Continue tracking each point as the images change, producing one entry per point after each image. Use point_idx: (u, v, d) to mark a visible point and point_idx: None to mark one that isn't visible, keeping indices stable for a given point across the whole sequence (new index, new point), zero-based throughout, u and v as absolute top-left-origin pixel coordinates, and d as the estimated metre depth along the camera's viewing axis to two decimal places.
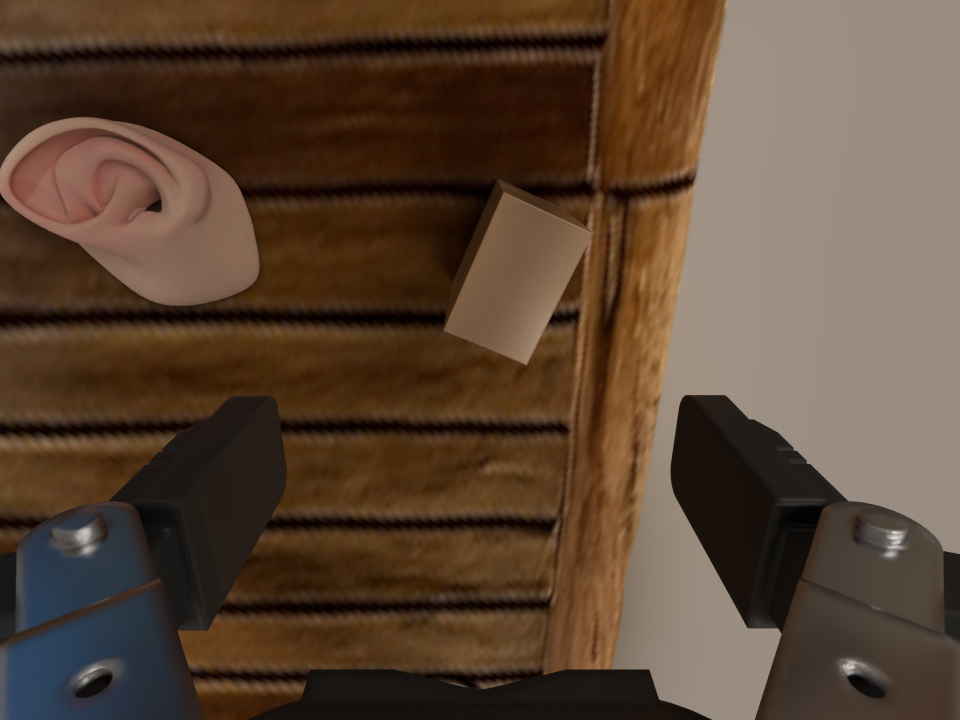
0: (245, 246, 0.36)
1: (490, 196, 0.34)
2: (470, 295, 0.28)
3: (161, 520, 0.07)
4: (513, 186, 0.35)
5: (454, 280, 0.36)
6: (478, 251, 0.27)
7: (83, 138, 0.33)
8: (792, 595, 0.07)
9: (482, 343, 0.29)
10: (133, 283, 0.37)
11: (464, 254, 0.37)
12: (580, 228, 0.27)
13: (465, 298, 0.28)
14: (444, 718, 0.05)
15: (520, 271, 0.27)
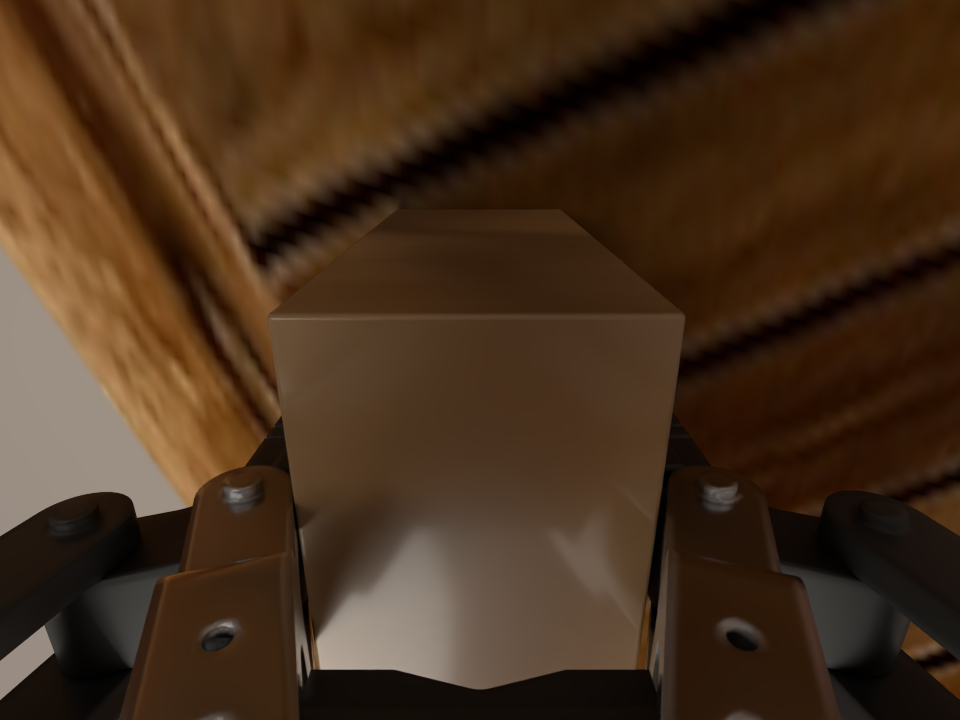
0: None
1: None
2: (619, 488, 0.07)
3: None
4: None
5: None
6: (641, 617, 0.08)
7: None
8: (652, 561, 0.08)
9: (497, 331, 0.06)
10: None
11: None
12: None
13: (634, 471, 0.07)
14: (443, 718, 0.05)
15: (480, 614, 0.08)
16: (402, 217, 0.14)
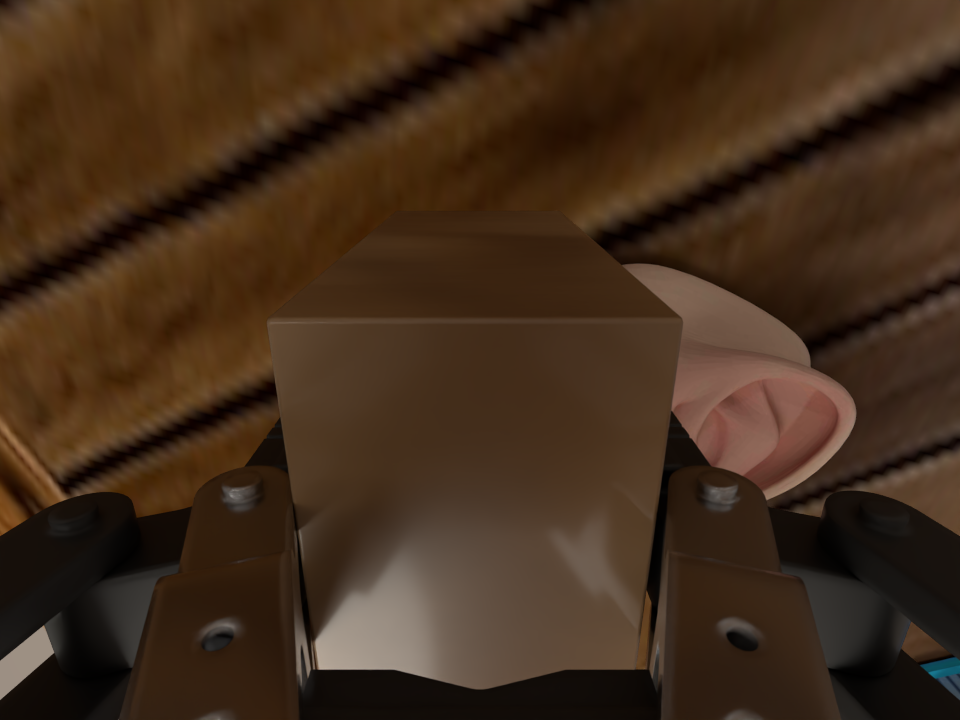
0: None
1: None
2: (618, 491, 0.07)
3: None
4: None
5: None
6: (640, 619, 0.08)
7: (742, 474, 0.25)
8: (652, 561, 0.08)
9: (496, 335, 0.06)
10: (665, 290, 0.23)
11: None
12: None
13: (633, 474, 0.07)
14: (444, 718, 0.05)
15: (479, 618, 0.08)
16: (401, 219, 0.14)
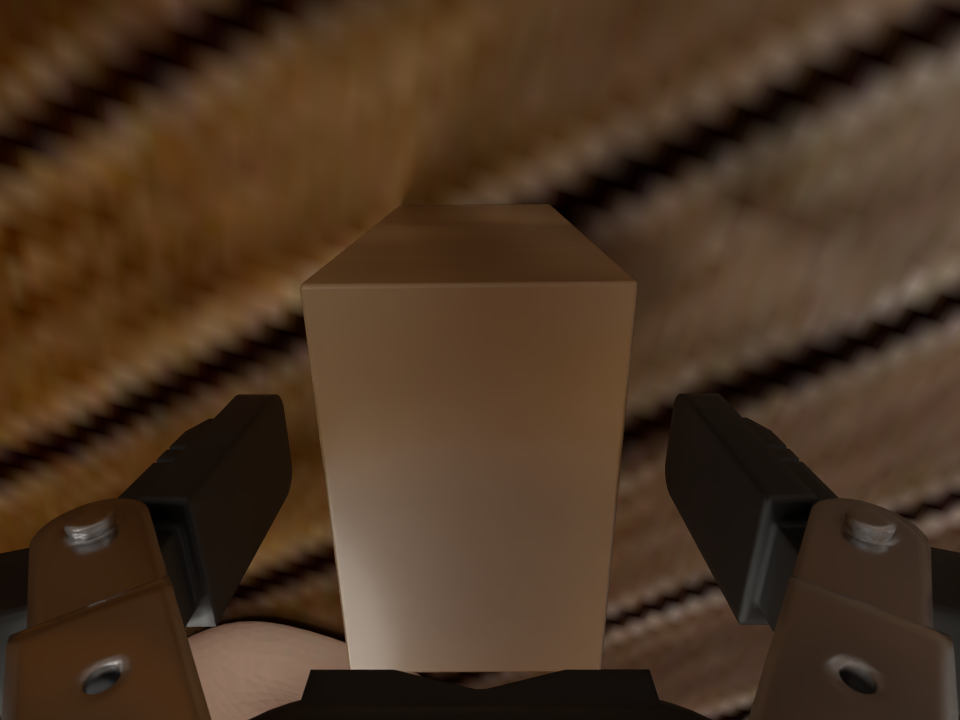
0: None
1: None
2: (589, 428, 0.09)
3: (170, 517, 0.07)
4: None
5: None
6: (610, 541, 0.09)
7: None
8: (783, 592, 0.07)
9: (486, 296, 0.08)
10: (274, 651, 0.23)
11: None
12: None
13: (600, 413, 0.08)
14: (444, 718, 0.05)
15: (475, 540, 0.09)
16: (405, 212, 0.16)
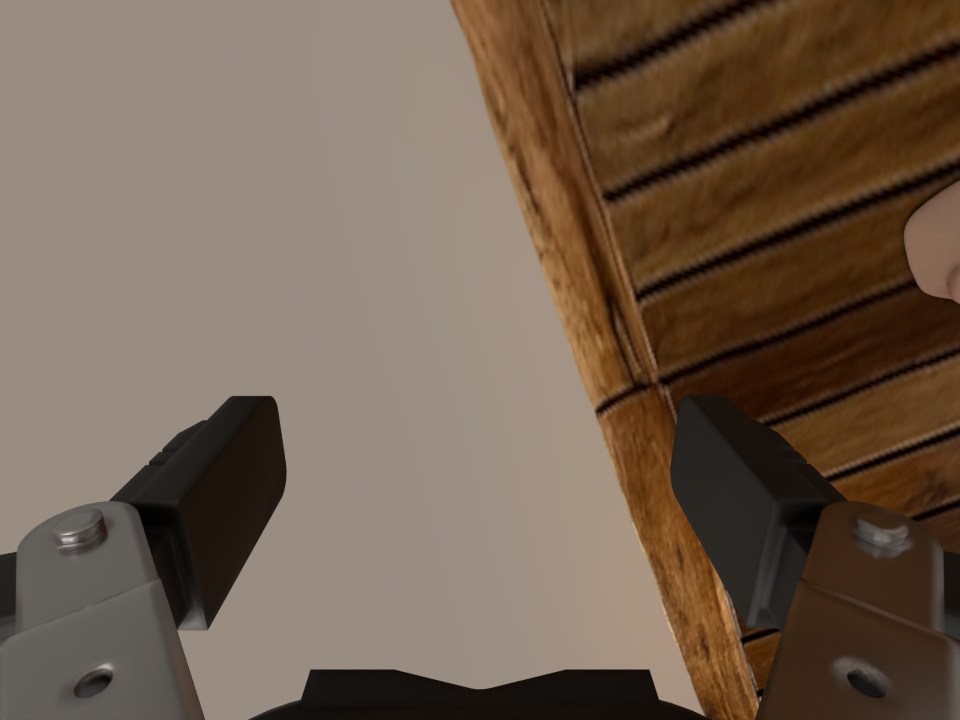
0: (917, 250, 0.45)
1: None
2: None
3: (161, 520, 0.07)
4: None
5: None
6: None
7: None
8: (792, 595, 0.07)
9: None
10: None
11: None
12: None
13: None
14: (444, 718, 0.05)
15: None
16: None
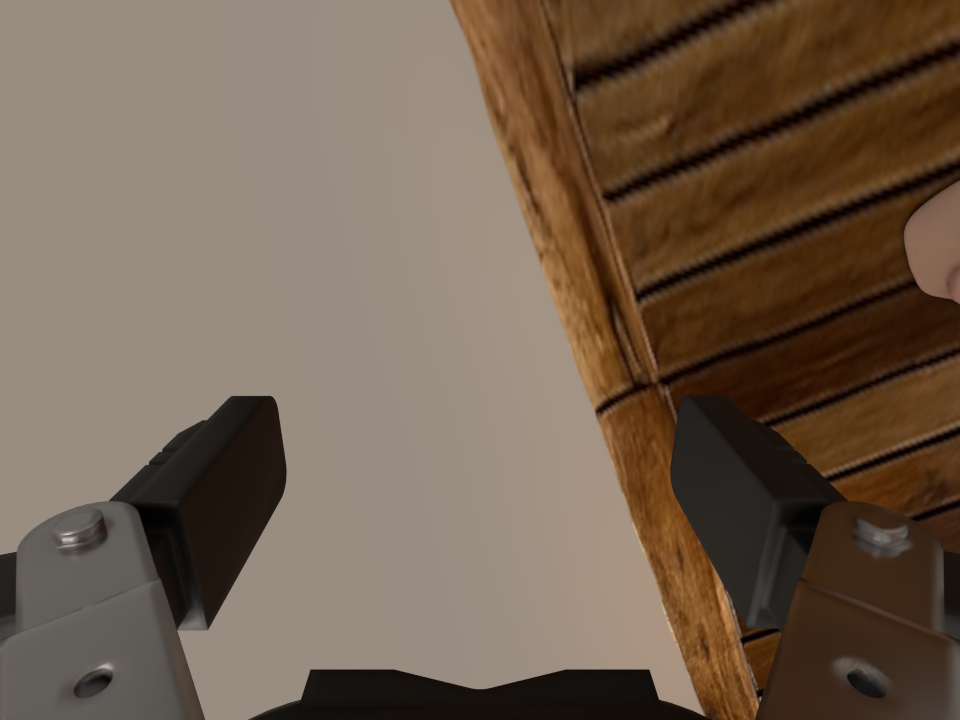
0: (917, 250, 0.45)
1: None
2: None
3: (161, 520, 0.07)
4: None
5: None
6: None
7: None
8: (792, 595, 0.07)
9: None
10: None
11: None
12: None
13: None
14: (444, 718, 0.05)
15: None
16: None
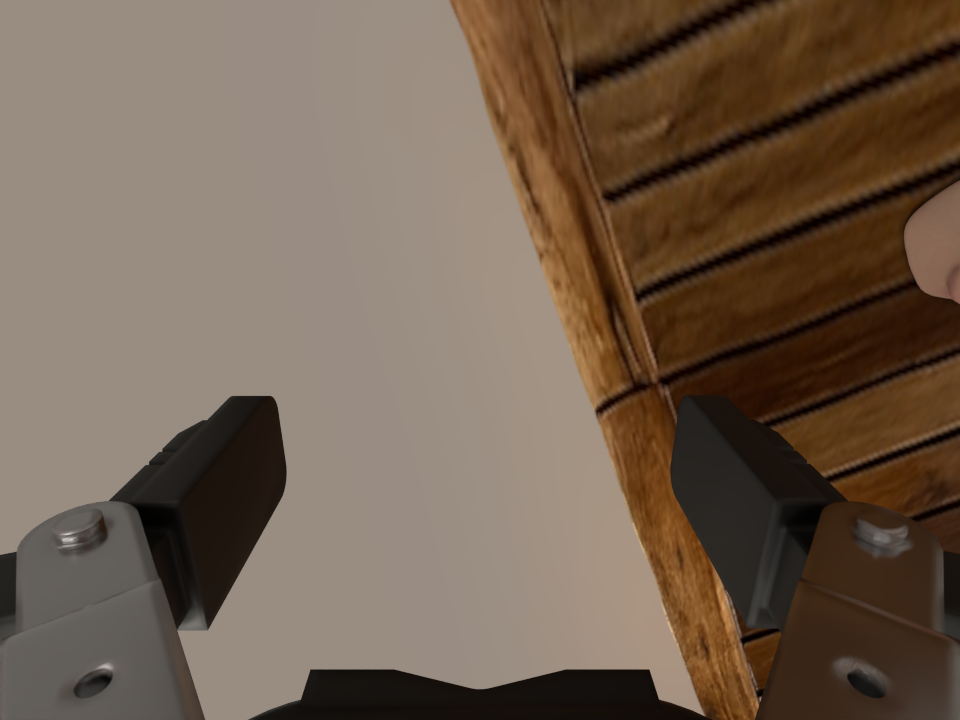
0: (917, 250, 0.45)
1: None
2: None
3: (161, 520, 0.07)
4: None
5: None
6: None
7: None
8: (792, 595, 0.07)
9: None
10: None
11: None
12: None
13: None
14: (444, 718, 0.05)
15: None
16: None
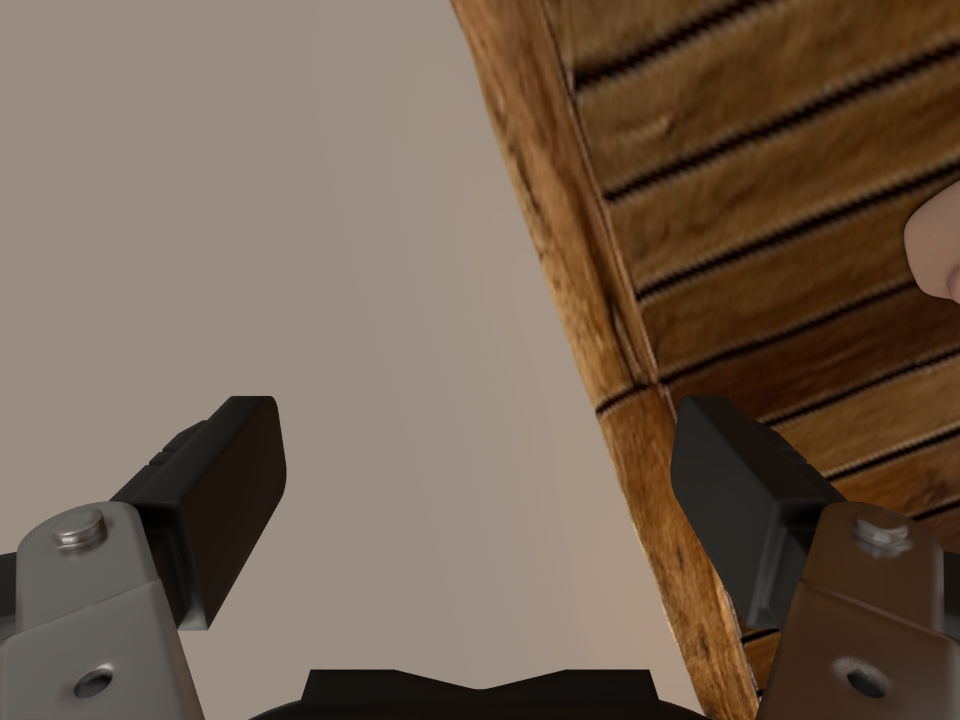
0: (917, 250, 0.45)
1: None
2: None
3: (161, 520, 0.07)
4: None
5: None
6: None
7: None
8: (792, 595, 0.07)
9: None
10: None
11: None
12: None
13: None
14: (444, 718, 0.05)
15: None
16: None
